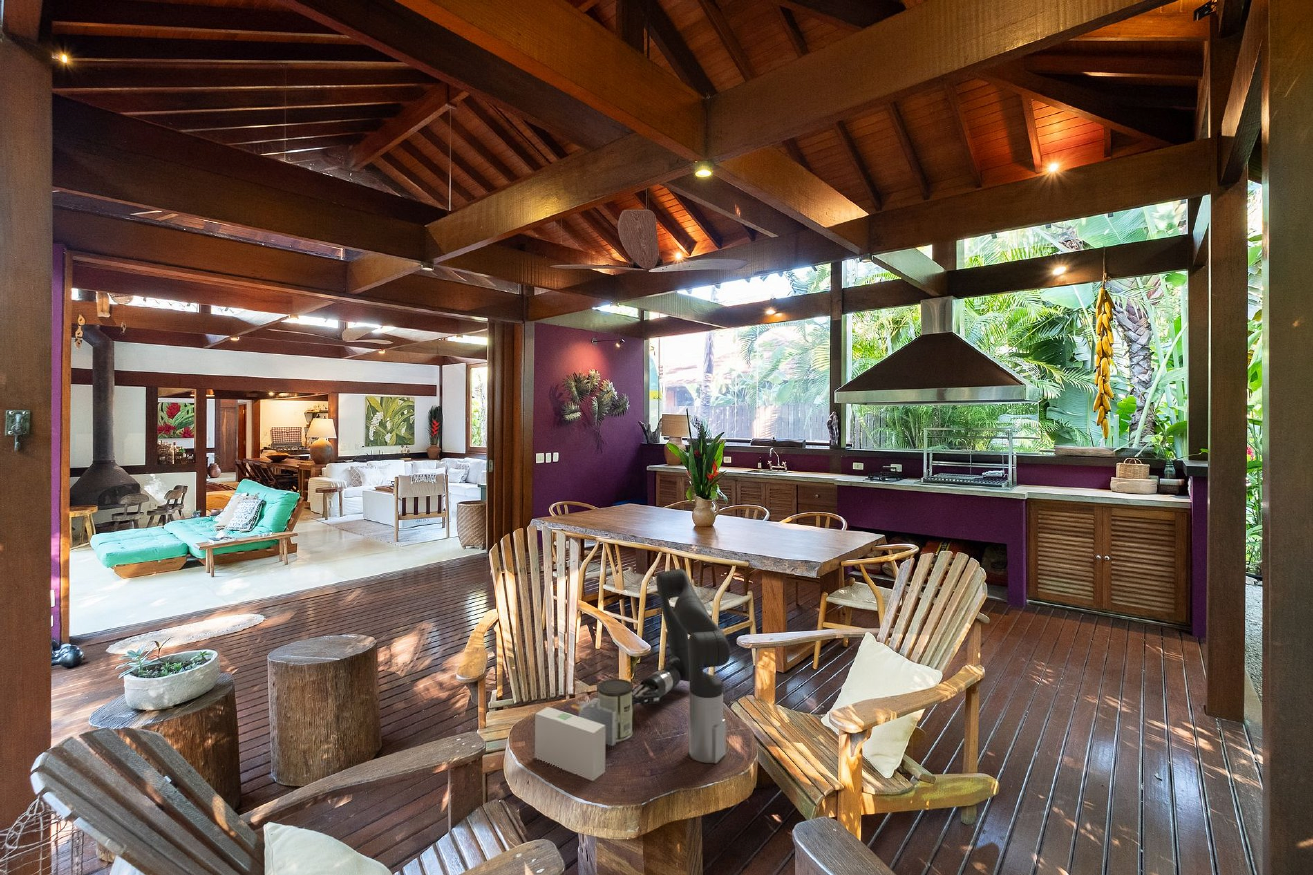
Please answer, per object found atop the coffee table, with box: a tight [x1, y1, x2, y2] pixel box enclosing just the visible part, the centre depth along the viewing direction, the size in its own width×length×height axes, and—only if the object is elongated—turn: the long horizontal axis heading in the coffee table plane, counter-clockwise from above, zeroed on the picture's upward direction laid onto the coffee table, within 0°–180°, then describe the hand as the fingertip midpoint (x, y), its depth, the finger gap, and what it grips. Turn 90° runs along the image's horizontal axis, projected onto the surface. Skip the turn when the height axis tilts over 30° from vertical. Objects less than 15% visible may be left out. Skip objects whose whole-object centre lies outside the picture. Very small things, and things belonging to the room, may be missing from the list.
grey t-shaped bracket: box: [571, 697, 617, 747], centre depth 163 cm, size 12×8×11 cm, turn 58°
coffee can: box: [597, 678, 634, 743], centre depth 173 cm, size 10×10×14 cm
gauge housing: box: [534, 706, 606, 782], centre depth 156 cm, size 20×5×12 cm, turn 58°
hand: (626, 704), depth 178 cm, fingers closed
